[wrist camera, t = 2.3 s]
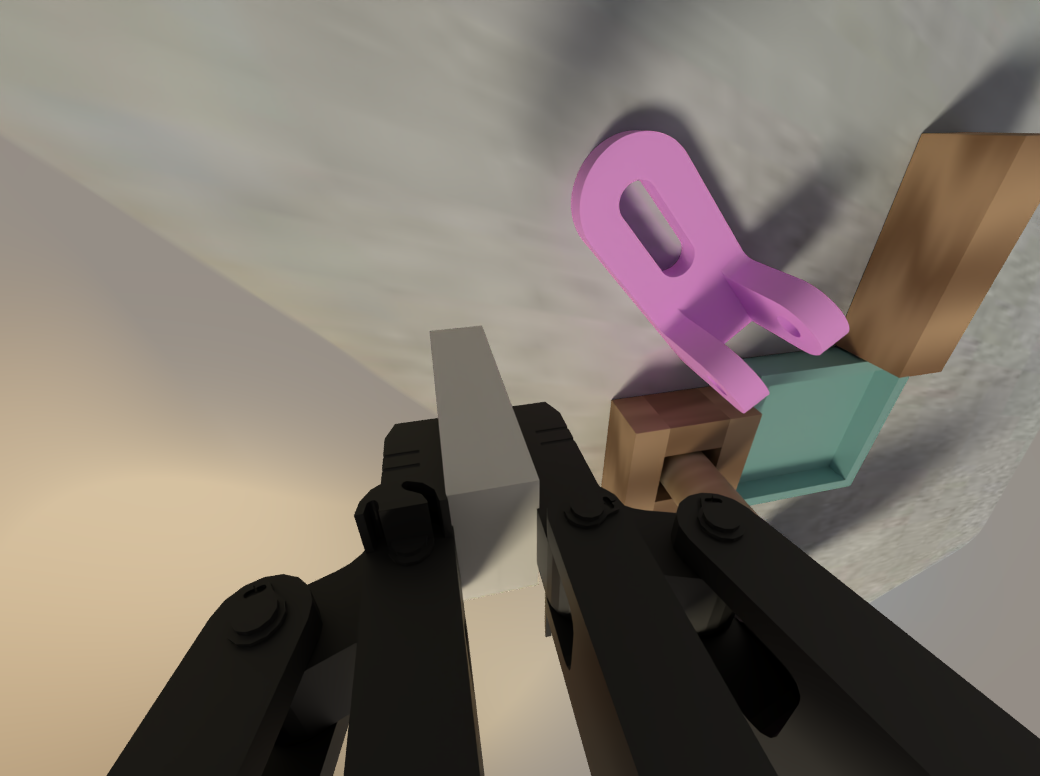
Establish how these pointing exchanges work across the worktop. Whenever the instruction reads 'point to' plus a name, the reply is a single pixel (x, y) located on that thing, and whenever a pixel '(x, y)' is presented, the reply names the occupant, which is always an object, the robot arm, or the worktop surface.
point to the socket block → (672, 441)
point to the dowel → (695, 478)
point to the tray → (814, 422)
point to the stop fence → (942, 247)
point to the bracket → (694, 266)
